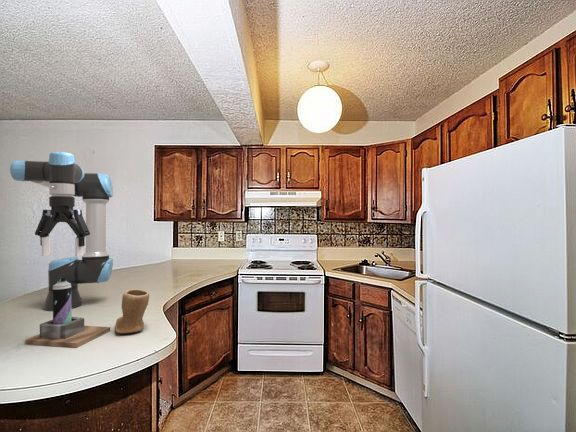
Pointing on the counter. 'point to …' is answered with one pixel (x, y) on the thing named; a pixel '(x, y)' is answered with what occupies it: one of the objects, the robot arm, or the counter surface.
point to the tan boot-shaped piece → (132, 311)
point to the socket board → (72, 339)
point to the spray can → (62, 302)
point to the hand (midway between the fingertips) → (62, 255)
